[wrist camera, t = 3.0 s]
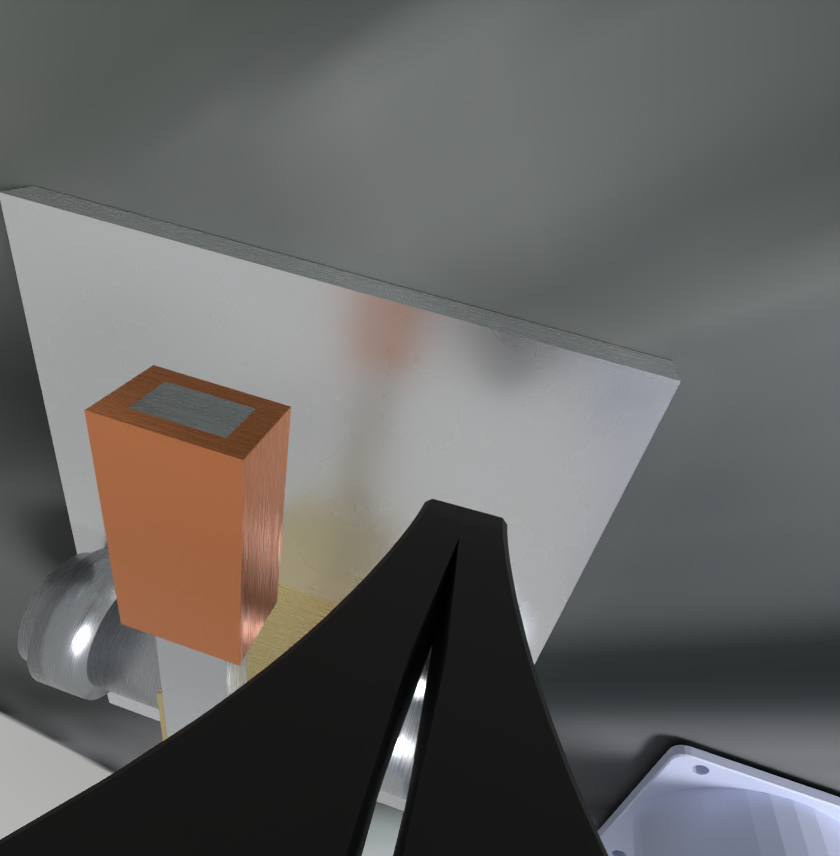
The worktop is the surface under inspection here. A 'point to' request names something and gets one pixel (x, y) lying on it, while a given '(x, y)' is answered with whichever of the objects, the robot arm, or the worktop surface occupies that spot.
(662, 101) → the worktop surface
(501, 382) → the valve rig
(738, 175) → the worktop surface
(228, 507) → the lever
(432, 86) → the worktop surface
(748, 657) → the worktop surface
